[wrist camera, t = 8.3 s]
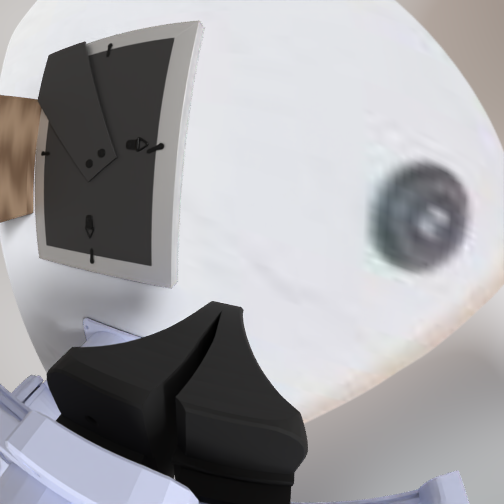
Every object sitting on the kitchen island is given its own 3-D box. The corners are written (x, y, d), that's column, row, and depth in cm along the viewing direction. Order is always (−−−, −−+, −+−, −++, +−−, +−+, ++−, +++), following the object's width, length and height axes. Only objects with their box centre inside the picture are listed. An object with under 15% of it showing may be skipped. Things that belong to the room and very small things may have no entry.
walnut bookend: (33, 212, 21) (-16, 227, 15) (19, 210, 21) (-26, 223, 15) (43, 100, 18) (-6, 94, 11) (29, 104, 18) (-18, 100, 11)
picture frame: (66, 60, 17) (51, 252, 23) (48, 54, 14) (34, 260, 20) (207, 31, 16) (180, 278, 22) (197, 15, 13) (167, 293, 19)
